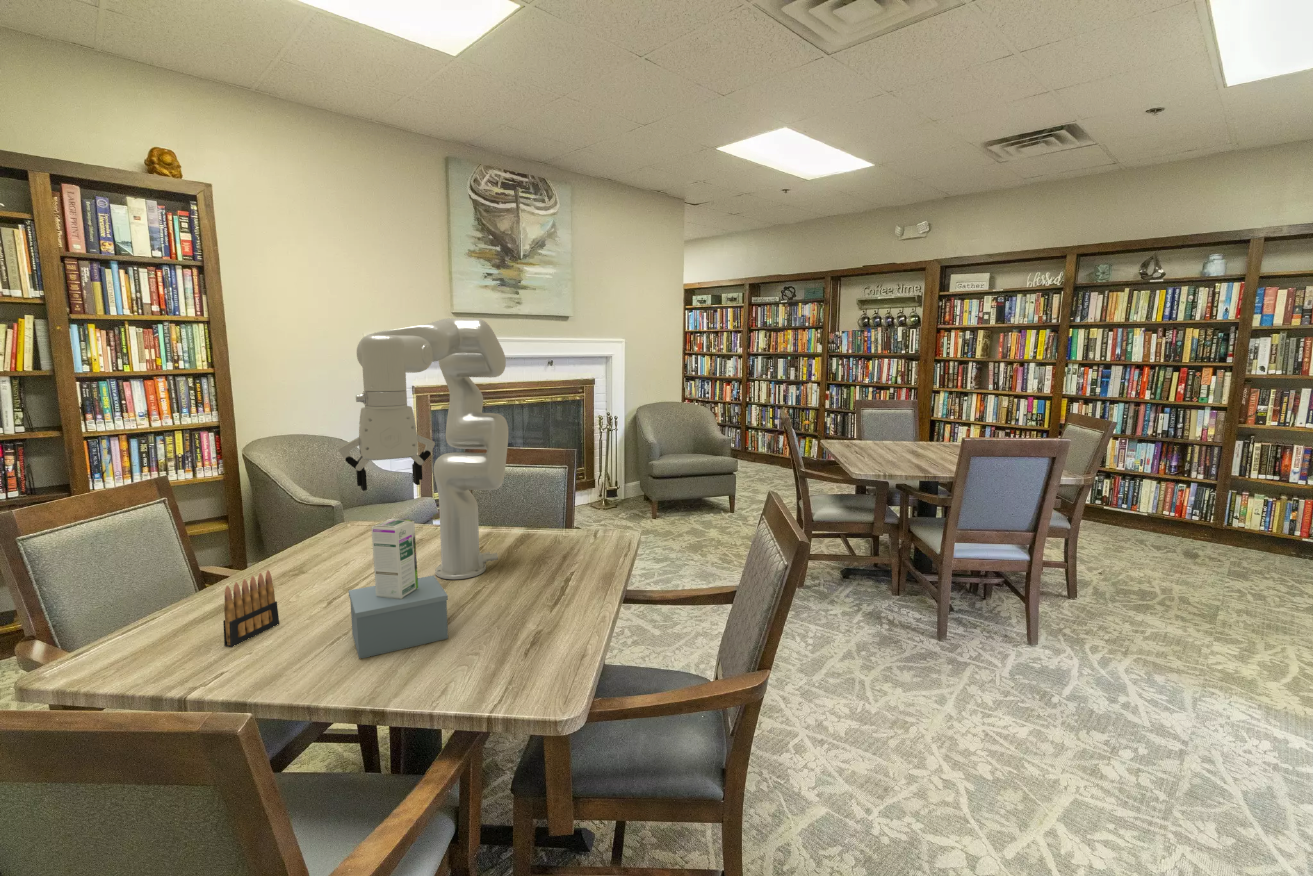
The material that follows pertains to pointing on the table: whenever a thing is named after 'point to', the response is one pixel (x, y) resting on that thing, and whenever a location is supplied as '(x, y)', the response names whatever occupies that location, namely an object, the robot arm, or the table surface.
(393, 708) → the table surface
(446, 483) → the robot arm
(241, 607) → the ammunition clip
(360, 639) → the box
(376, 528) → the syrup box
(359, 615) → the lid
